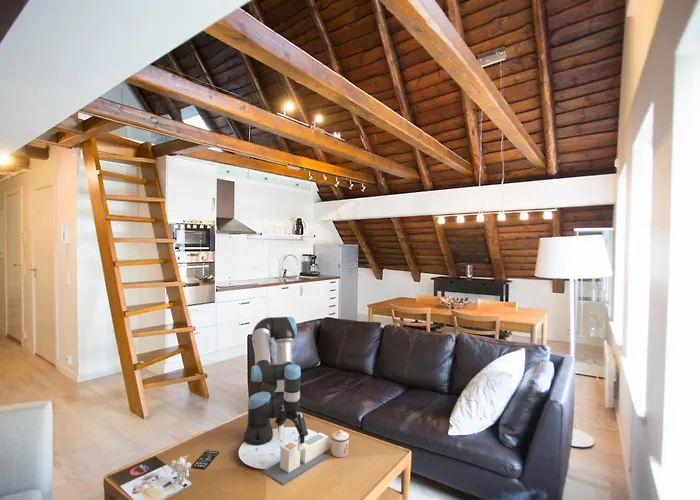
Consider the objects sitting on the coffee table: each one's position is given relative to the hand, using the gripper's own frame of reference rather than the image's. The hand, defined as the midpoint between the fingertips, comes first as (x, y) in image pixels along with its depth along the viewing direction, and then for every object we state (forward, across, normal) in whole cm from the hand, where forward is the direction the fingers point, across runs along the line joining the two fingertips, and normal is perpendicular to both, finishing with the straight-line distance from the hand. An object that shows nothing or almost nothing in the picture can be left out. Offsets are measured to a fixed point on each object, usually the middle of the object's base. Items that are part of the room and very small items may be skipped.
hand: (290, 444), depth 178 cm
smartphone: (+12, -36, -22) cm, 44 cm away
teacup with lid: (+12, +8, +27) cm, 31 cm away
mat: (+12, 0, +5) cm, 13 cm away
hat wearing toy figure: (+12, -28, -38) cm, 49 cm away
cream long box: (+11, 0, +15) cm, 18 cm away
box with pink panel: (+11, 0, 0) cm, 11 cm away
